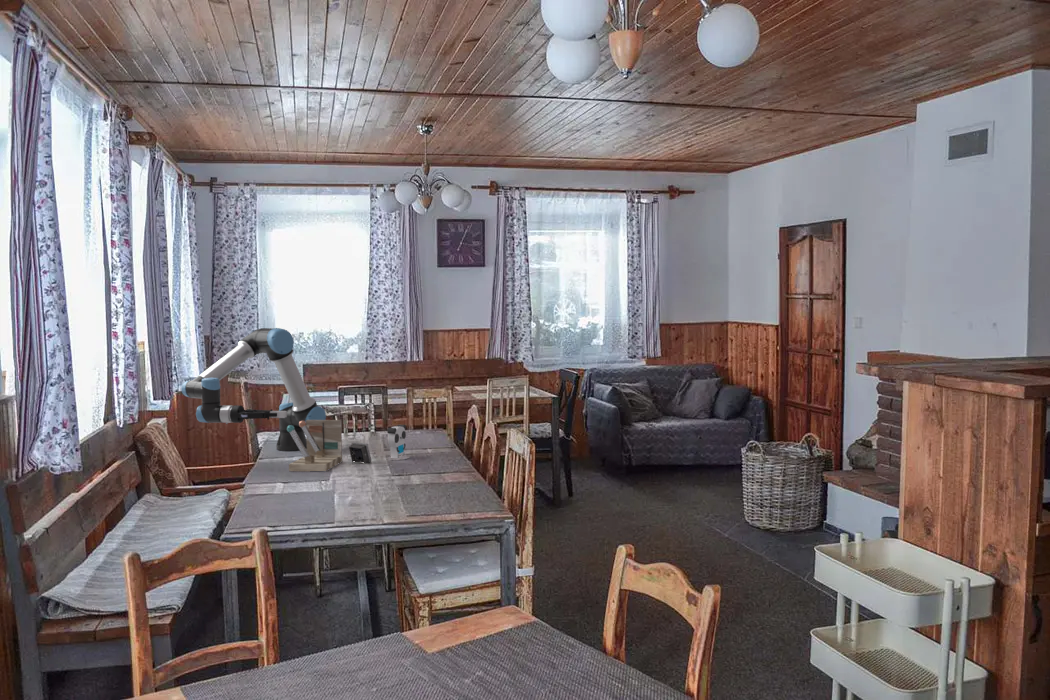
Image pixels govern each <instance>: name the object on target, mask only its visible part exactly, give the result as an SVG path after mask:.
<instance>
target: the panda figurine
mask: <svg viewBox="0 0 1050 700" xmlns="http://www.w3.org/2000/svg"><path fill="white" fill-rule="evenodd" d="M406 428H407V427H406V424H397V425H396V426H395V425H394V426H391V427H388V428H387V431H386V432H387V444H388V447H389V450H390V451H389V452H390V456H391V458H399V455H401V456H402V455H404V456H405V449H406V443H405V442H406V439H407V438H406V437H407V433H406Z"/></svg>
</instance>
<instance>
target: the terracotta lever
mask: <svg viewBox="0 0 1050 700" xmlns="http://www.w3.org/2000/svg"><path fill="white" fill-rule="evenodd" d="M299 426H300V427H301V428H302V430H303V431H304V434H305V437H306V436H307V437H306V439H307V438H308V440H309V442H310V443H311V445H312V447H313V449H314V450H315V452H316V451H321V449H320V448H319V446H318V444H317V443H316V441H315V439H314V437H313V436H312V434H311V432H310V431H309V429H308V427H307V425H306V422H305V421H300V422H299Z"/></svg>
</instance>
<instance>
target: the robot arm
mask: <svg viewBox="0 0 1050 700" xmlns="http://www.w3.org/2000/svg"><path fill="white" fill-rule="evenodd" d="M294 340H295V339H294V337H293V335H292V334H291V332H289V331H288V330H286V329H285V328H280V327H275V328H272V327H271V328H269V327H268V328H267V327H266V328H265V327H262V328H258V329H256V330H253V331H251V332H250V333H249V334H247V335H246V336H244V337H243V338H242V339H240V341H238V343H237V345H236V346H235V347H234V348H232V349H231V350H230V351H229V352H228V353H226V354H225V355H224V356H222V357H220V358H219V359H218V360H217V361H216V362H215V363H213V364H212V365H210V366H209V367H208V368H207V369H205V370H204V371H203V372H202V373H200V374H199V375H197V377H195V378H194V379H190V380H186V381H184V382H183V383H182V384H181V388H180V389H181V393H182V395H183V396H184V397H187V398H190V399H198V400H199V399H200V400H201V405H198V406H197V408H196V412H195V416H196V420H197V421H198V422H199V423H206V424H207V423H208V424H211V423H216V424H217V423H221V424H222V423H225V424H226V425H229V423H231V424H232V423H233V424H241V423H243V422H244V421H245V420H250V419H251V420H252V419H257V420H258V419H265V420H266V419H267V421H268V420H270V419H279V434H278V439H277V441H276V445H275V447H276V450H277V451H285V452H286V451H287V452H288V451H290V450H294V451H300V450H299V448H298V446H297V445H296V443H295V441H294V439H293V438H292V436H291V434H290V433H289V432H288V431H287V427H288V426H289V425H293V426H294V428H295V431H296V433H297V435H298V436H299V438H300V440H301V442H302V443H303V445H304V447H305V448H306V449H307V437H306V435H305V433H304V431H303V430H302V428H301V427H300V426H299V422H300V421H305V422H306V420H327V419H326V418H327V413H326V410H325V409H324V408H323V407H322V406H318V403H317V401H316V399H315V398H313V397H311V395H310V393H309V391H308V388H307V386H306V384H305V382H304V380H303V377H302V374H301V373H300V371H299V368H298V366H297V364H296V361H295V358H294V357H293V353H294V344H295V342H294ZM260 354H266V355H267V357H268V359H269V361H270V362H272V363H274V365H275V367H276V369H277V371H278V373H279V376H280V378H281V380H282V382H283V384H284V387H285V390H286V392H287V394H288V395H289V398H290V400H291V402H284V403H281V404H280V405H279V406H278V410H273V409H269V410H268V409H255V408H254V409H251V408H249V409H248V408H247V409H245V407H244V406H243V405H238V404H237V405H232V404H229V405H227V404H223V405H222V404H221V383H220V381H221V380H222V379H224V378H225V377H226V376H228V375H229V374H230V373H231V372H233V371H234V370H235V369H237V368H238V367H239V366H240V365H241V364H243V363H245V361H247V360H248V359H253V358H254V357H255V356H257V355H260Z"/></svg>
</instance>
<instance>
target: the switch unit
mask: <svg viewBox="0 0 1050 700" xmlns="http://www.w3.org/2000/svg"><path fill="white" fill-rule="evenodd" d="M306 425H307V427H308V429H309V431H310V432H311V434H312V436H313V437H314V439H315V441H316V443H317V444H318V446H319V448H320V449H321V451H316V452H315V450H314V449H313V447H312V445H311V443H310V442H309V440H308V438H307V436H306V435H305V437H306V439H307V448H306V450H307V452H308V454H309V455H310V457H305V458H304V457H303V456H302V457H300V458H299V459H296V460H294V461H293V462H291V463H289V464H288V471H289V472H310V471H326V470H327V471H329V470H331V469H332V468H334V467H336V466H337V465H339V464H340V462H341V463H342V462H343V441H342V440H343V439H342V437H343V435H342V431H343V430H342V419H326V420H306ZM338 463H339V464H338ZM335 465H336V466H335ZM330 468H331V469H330ZM328 469H329V470H328ZM327 471H326V472H327Z"/></svg>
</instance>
